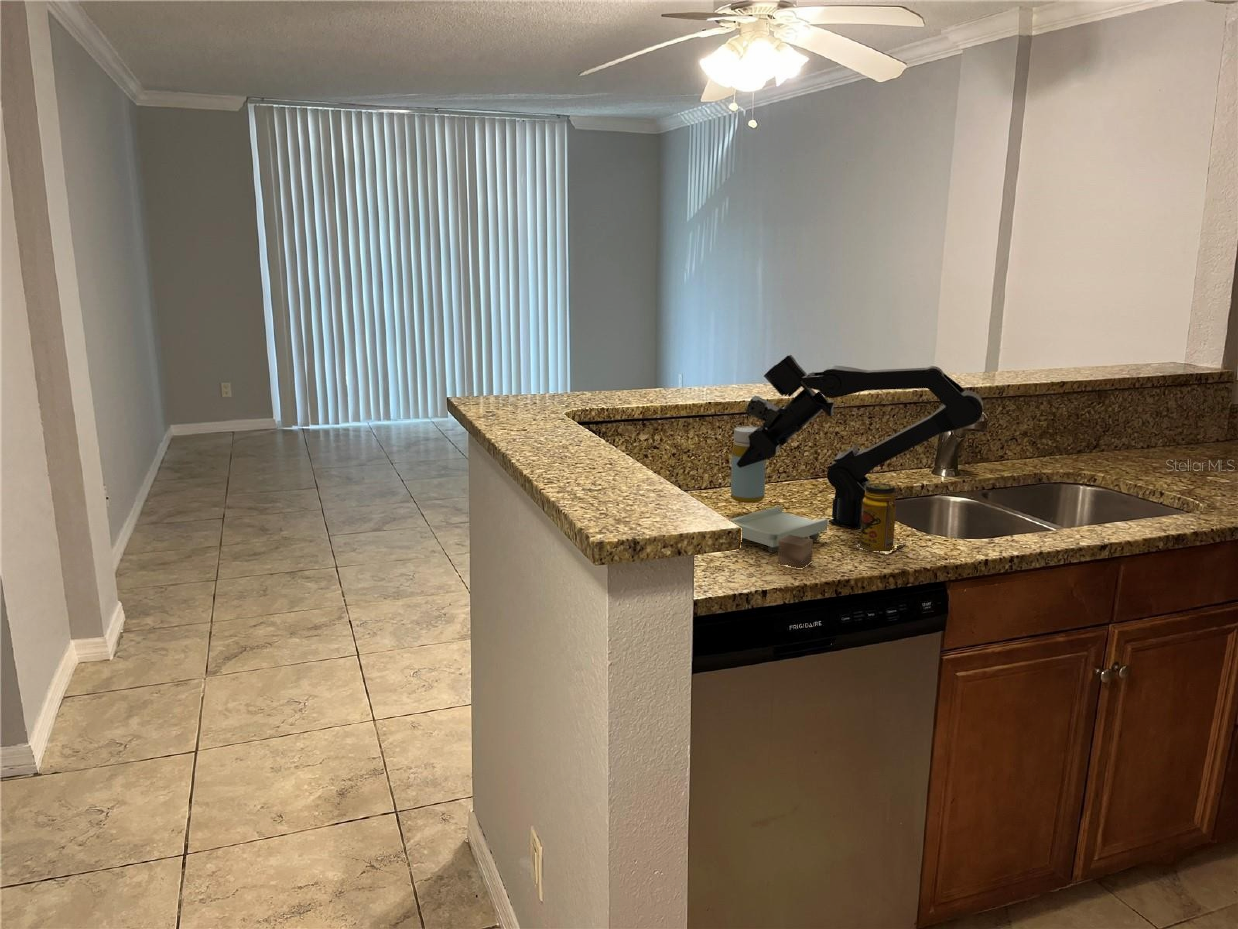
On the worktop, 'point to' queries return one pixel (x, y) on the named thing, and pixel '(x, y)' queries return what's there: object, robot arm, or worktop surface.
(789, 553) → the walnut block
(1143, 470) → the worktop surface
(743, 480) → the bottle
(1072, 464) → the worktop surface
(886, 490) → the condiment
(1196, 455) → the worktop surface
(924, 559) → the worktop surface
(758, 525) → the tray
